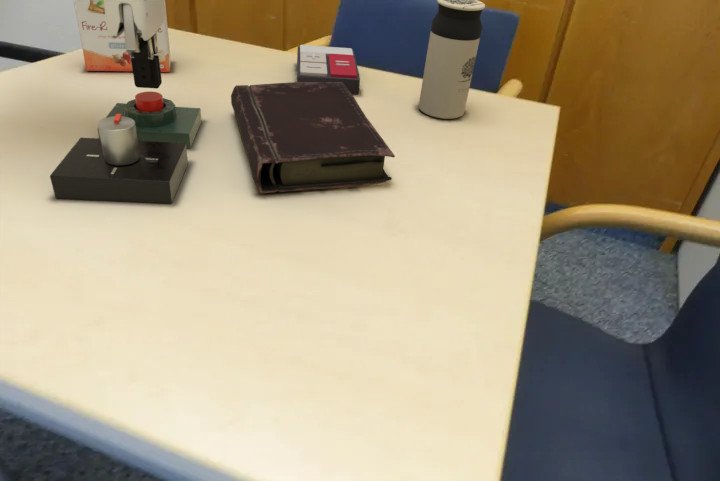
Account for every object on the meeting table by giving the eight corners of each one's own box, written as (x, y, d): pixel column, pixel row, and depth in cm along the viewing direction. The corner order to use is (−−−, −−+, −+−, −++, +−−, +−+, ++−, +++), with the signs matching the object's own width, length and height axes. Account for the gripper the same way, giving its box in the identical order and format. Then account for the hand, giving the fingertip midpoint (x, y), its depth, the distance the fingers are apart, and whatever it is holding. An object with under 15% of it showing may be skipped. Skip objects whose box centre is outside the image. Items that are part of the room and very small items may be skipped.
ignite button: (133, 112, 76) (131, 100, 75) (140, 102, 79) (138, 90, 78) (160, 114, 76) (159, 101, 75) (166, 104, 79) (165, 92, 78)
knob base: (55, 198, 64) (49, 174, 62) (85, 158, 72) (80, 136, 70) (171, 203, 65) (169, 180, 63) (188, 163, 73) (185, 141, 71)
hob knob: (138, 165, 65) (132, 127, 63) (101, 166, 65) (94, 127, 62) (142, 150, 69) (136, 113, 66) (107, 150, 68) (100, 113, 65)
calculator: (297, 71, 95) (297, 41, 107) (296, 95, 98) (297, 63, 110) (360, 75, 97) (354, 45, 108) (358, 98, 99) (352, 66, 111)
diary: (254, 196, 68) (254, 159, 65) (231, 114, 87) (230, 83, 84) (396, 185, 74) (401, 151, 71) (345, 110, 93) (347, 81, 90)
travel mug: (408, 106, 97) (425, -4, 86) (441, 99, 101) (460, -6, 91) (440, 123, 92) (462, 9, 82) (473, 115, 96) (497, 6, 86)
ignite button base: (100, 143, 75) (94, 115, 73) (119, 116, 83) (114, 90, 80) (190, 148, 77) (188, 121, 74) (201, 121, 84) (199, 96, 82)
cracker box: (86, 73, 96) (59, -64, 84) (90, 61, 100) (66, -70, 88) (171, 73, 99) (157, -58, 87) (172, 62, 104) (159, -64, 92)
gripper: (113, -77, 71) (135, 66, 81) (71, -60, 59) (103, 105, 69) (174, -72, 72) (187, 69, 82) (144, -54, 60) (164, 108, 70)
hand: (148, 85), depth 76 cm, fingers closed
